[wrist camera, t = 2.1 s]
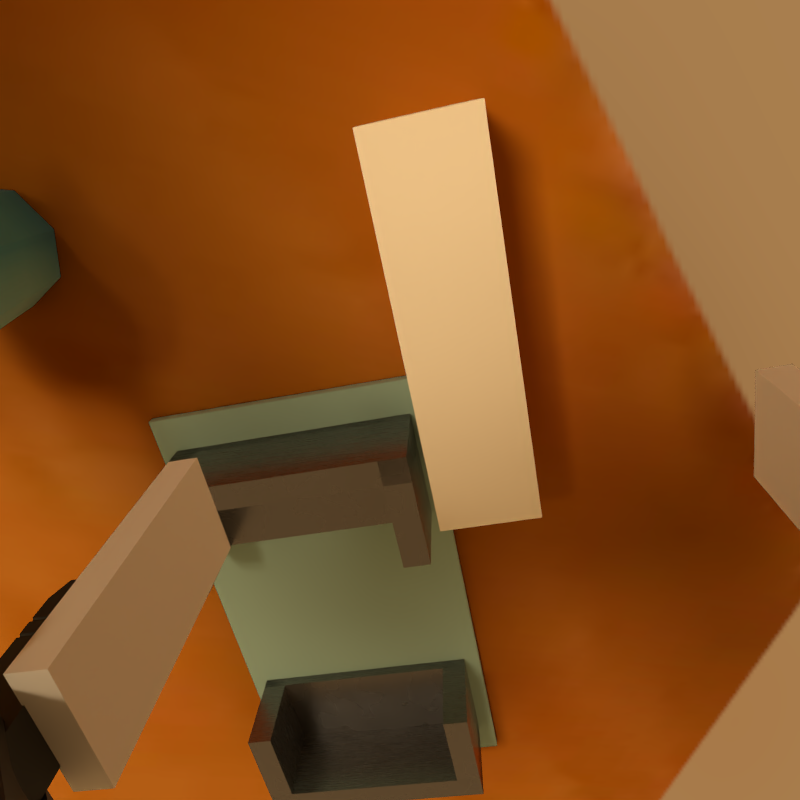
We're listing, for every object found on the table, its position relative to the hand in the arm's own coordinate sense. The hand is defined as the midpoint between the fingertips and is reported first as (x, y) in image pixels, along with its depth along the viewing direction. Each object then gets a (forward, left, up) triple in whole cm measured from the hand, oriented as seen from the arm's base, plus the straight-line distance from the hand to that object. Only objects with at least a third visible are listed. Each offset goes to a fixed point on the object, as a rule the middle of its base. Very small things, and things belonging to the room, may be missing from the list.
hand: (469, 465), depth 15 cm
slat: (0, 0, -14) cm, 14 cm away
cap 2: (+22, -9, -13) cm, 27 cm away
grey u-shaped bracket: (+7, -9, -13) cm, 17 cm away
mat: (+15, -9, -14) cm, 22 cm away
